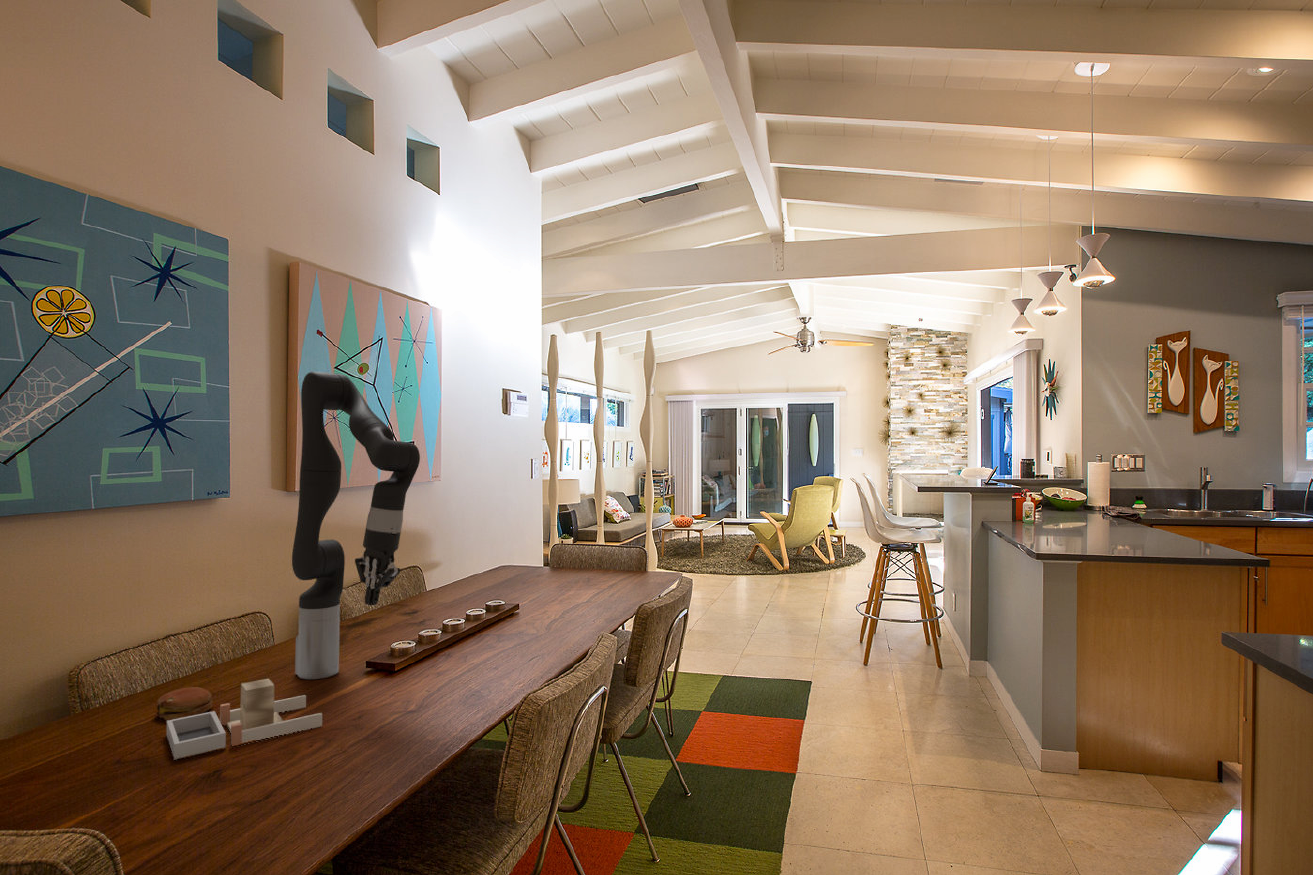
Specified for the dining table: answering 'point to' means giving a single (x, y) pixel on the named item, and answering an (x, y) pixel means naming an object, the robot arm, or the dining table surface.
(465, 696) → the dining table surface
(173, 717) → the burger
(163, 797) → the dining table surface
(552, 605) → the dining table surface
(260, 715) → the pawn block
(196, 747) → the box
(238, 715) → the ladder rail frame
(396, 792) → the dining table surface
